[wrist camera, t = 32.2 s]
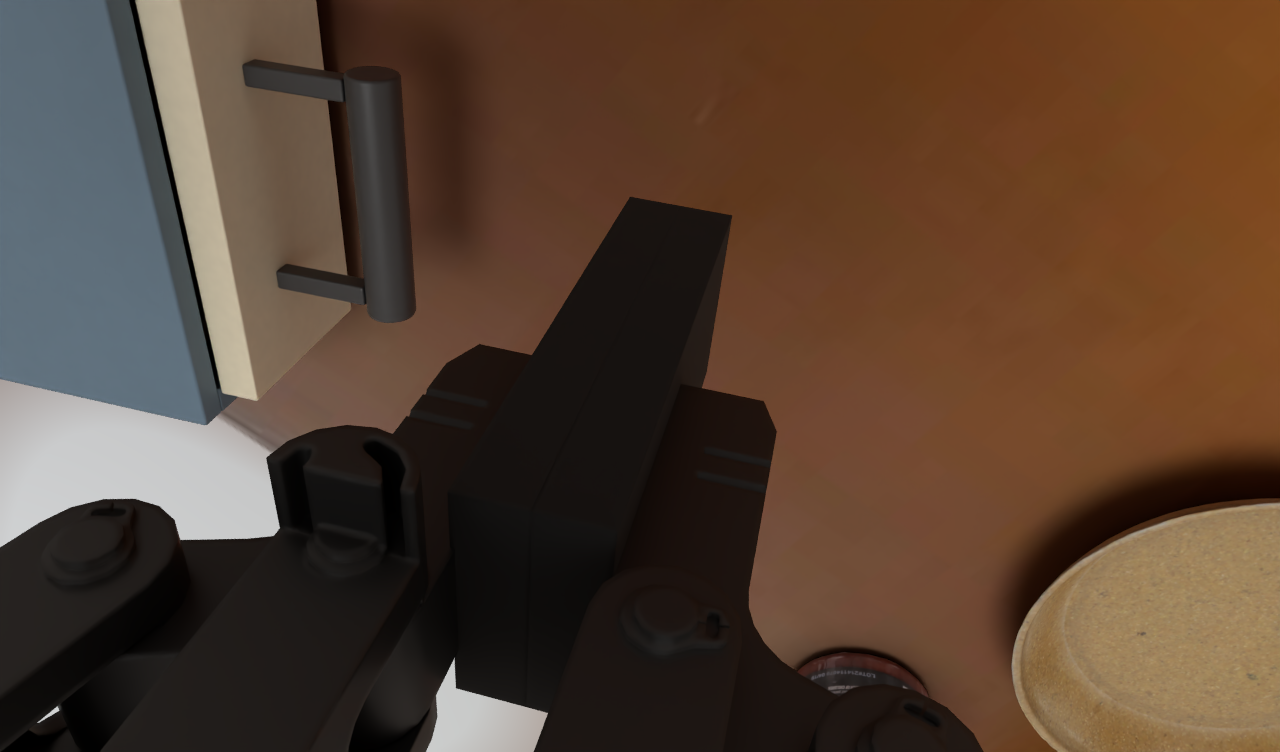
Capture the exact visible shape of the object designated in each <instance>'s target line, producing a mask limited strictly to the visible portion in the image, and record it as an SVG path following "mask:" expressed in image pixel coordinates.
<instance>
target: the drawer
mask: <svg viewBox="0 0 1280 752" xmlns="http://www.w3.org/2000/svg"><path fill="white" fill-rule="evenodd" d="M129 2H130V7H131V11H132V16H133V20H134V25H135V29H136V33H137V38H138V42H139V47H140V51H141V56H142V60H143V65H144V69H145V73H146V78H147V82H148V87H149V91H150V96H151V100H152V104H153V109H154V113H155V118H156V122H157V127H158V131H159V136H160V140H161V144H162V149H163V153H164V158H165V162H166V167H167V171H168V176H169V180H170V184H171V189H172V193H173V198H174V202H175V207H176V211H177V215H178V220H179V224H180V229H181V233H182V238H183V242H184V247H185V251H186V255H187V260H188V264H189V269H190V273H191V278H192V282H193V287H194V291H195V295H196V300H197V304H198V309H199V313H200V318H201V322H202V326H203V331H204V335H205V340H206V342H207V341H208V340H209V339H210V340H211V345H212V349H213V354H214V358H215V363H216V367H217V372H218V377H219V381H220V386H221V390H222V393H224V394H228V395H233V396H237V397H242V398H246V399H251V400H255V401H257V400H259V399H260V398H261V397H262V396H263V395H264V394H265V393H266V392H267V391H268V390H269V389H270V388H271V387H272V386H273V385H274V384H275V383H276V382H277V381H278V380H279V379H280V378H281V377H282V376H283V375H284V374H286V373H287V372H288V371H289V370H290V369H291V368H292V367H293V366H294V365H295V364H296V363H297V362H298V361H299V360H300V359H301V358H302V357H303V356H304V355H305V354H306V353H307V352H308V351H309V350H310V349H311V348H312V347H313V346H314V345H315V344H316V343H317V342H318V341H319V340H320V339H322V338H323V337H324V336H325V335H326V334H327V333H328V332H329V331H330V330H331V329H332V328H333V327H334V326H335V325H336V324H337V323H338V322H339V321H340V320H341V319H342V318H343V317H344V316H345V315H346V314H347V313H348V312H349V311H350V310H351V303H355V304H360V305H365V304H367V312H368V314H369V316H370V317H371V318H372V319H374V320H376V321H379V322H384V323H396V322H401V321H404V320H407V319H409V318H411V317H412V316H413V315H414V313H415V311H416V299H415V284H414V269H413V254H412V239H411V224H410V208H409V193H408V178H407V163H406V148H405V133H404V118H403V103H402V88H401V76H400V74H399V73H398V72H397V71H395V70H393V69H390V68H386V67H379V66H362V67H356V68H352V69H349V70H347V71H346V72H345V73H338V72H332V71H326V70H324V65H323V56H322V48H321V39H320V30H319V21H318V12H317V4H316V0H129ZM328 100H331V101H337V102H345V101H346V108H347V118H348V127H349V137H350V147H351V157H352V167H353V176H354V186H355V196H356V206H357V216H358V225H359V235H360V245H361V255H362V265H363V274H364V279H363V278H358V277H353V276H348V275H347V267H346V259H345V250H344V241H343V232H342V223H341V215H340V206H339V197H338V188H337V179H336V171H335V162H334V153H333V144H332V135H331V127H330V118H329V109H328Z"/></svg>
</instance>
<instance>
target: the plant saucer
mask: <svg viewBox="0 0 1280 752" xmlns="http://www.w3.org/2000/svg"><path fill="white" fill-rule="evenodd" d="M1011 666H1012V678H1013V684H1014V689H1015V693H1016V696H1017V699H1018V701H1019V704H1020V706H1021V708H1022V710H1023V712H1024V714H1025V716H1026V717H1027V719H1028V721H1029V722H1030V723H1031V724H1032V726H1033V727H1034V729H1035V730H1036V731H1037V732H1038V733H1039V735H1040V736H1041V737H1042V738H1043V739H1044V740H1046V741H1047V743H1048V744H1049V745H1050V746H1051V747H1052V748H1054V749H1055V750H1057V751H1058V752H1280V498H1265V499H1246V500H1236V501H1227V502H1219V503H1212V504H1206V505H1201V506H1197V507H1192V508H1187V509H1183V510H1179V511H1176V512H1172V513H1169V514H1166V515H1163V516H1159V517H1157V518H1154V519H1151V520H1148V521H1146V522H1143V523H1140V524H1138V525H1136V526H1133V527H1131V528H1129V529H1127V530H1125V531H1123V532H1121V533H1119V534H1117V535H1115V536H1113V537H1111V538H1110V539H1108V540H1106V541H1104V542H1103V543H1101V544H1100V545H1098V546H1097V547H1095V548H1093V549H1092V550H1090V551H1089V552H1087V553H1086V554H1085V555H1084V556H1082V557H1081V558H1080V559H1078V560H1077V561H1076V562H1074V563H1073V564H1072V565H1070V566H1069V567H1068V568H1067V569H1066V570H1065V571H1064V572H1063V573H1062V574H1060V575H1059V576H1058V577H1057V578H1056V579H1055V581H1054V582H1053V583H1052V584H1051V585H1050V586H1049V587H1048V588H1047V589H1046V590H1045V591H1044V592H1043V594H1042V595H1041V596H1040V597H1039V598H1038V600H1037V601H1036V602H1035V603H1034V605H1033V606H1032V608H1031V609H1030V611H1029V612H1028V614H1027V615H1026V617H1025V619H1024V621H1023V623H1022V625H1021V627H1020V629H1019V632H1018V634H1017V638H1016V641H1015V645H1014V649H1013V656H1012V664H1011Z"/></svg>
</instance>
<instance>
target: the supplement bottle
mask: <svg viewBox="0 0 1280 752" xmlns="http://www.w3.org/2000/svg"><path fill="white" fill-rule="evenodd" d="M797 672H798V673H799V674H801V675H802V676H804V677H806V678H808V679H810V680H811V681H813V682H815V683H817V684H818V685H820V686H822V687H824V688H825V689H827V690H829V691H831V692H832V693H834V694H836V695H838V696H840V695H842V694H843V693H845V692H847V691H848V690H850V689H852V688H853V687H860V686H868V685H876V684H888V685H892V686H897V687H901V688H906V689H911V690H915V691H917V692H919V693H921V694H923V695H925V696H926V697H928V694H927V691H926V689H925V688H924V687H923V685H922V684H921V683H920V682H919V681H918V679H917V678H915V677H914V676H913V675H912V674H911V673H910V672H908V671H907V670H906V669H904V668H903V667H901V666H899V665H898V664H896V663H893V662H892V661H889V660H888V659H884V658H880V657H876V656H873V655H869V654H860V653H847V652H841V653H836V654H832V655H827V656H821V657H820V658H817V659H814V660H812V661H811V662H809V663H807V664H805V665H804V666H803V667H802V668H800V669H799V670H798V671H797ZM928 698H929V697H928Z"/></svg>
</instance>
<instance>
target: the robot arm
mask: <svg viewBox="0 0 1280 752" xmlns="http://www.w3.org/2000/svg"><path fill="white" fill-rule="evenodd" d="M731 219H732V215H727V214H721V213H716V212H710V211H705V210H699V209H694V208H688V207H683V206H677V205H672V204H666V203H661V202H656V201H650V200H645V199H639V198H634V197H630V198H629V200H628V201H627V203H626V204H625V206H624V208H623V209H622V211H621V212H620V214H619V216H618V217H617V219H616V220H615V222H614V224H613V225H612V227H611V229H610V230H609V232H608V233H607V235H606V237H605V238H604V240H603V241H602V243H601V245H600V246H599V248H598V250H597V251H596V253H595V254H594V256H593V258H592V259H591V261H590V262H589V264H588V266H587V267H586V269H585V270H584V272H583V274H582V275H581V277H580V279H579V280H578V282H577V283H576V285H575V287H574V288H573V290H572V291H571V293H570V295H569V296H568V298H567V300H566V301H565V303H564V304H563V306H562V308H561V309H560V311H559V312H558V314H557V316H556V317H555V319H554V321H553V322H552V324H551V325H550V327H549V329H548V330H547V332H546V333H545V335H544V337H543V338H542V340H541V341H540V343H539V345H538V346H537V348H536V350H535V351H534V353H533V354H532V355H528V354H523V353H519V352H514V351H509V350H504V349H500V348H495V347H490V346H485V345H481V344H479V345H477V346H475V347H474V348H472V349H470V350H469V351H467V352H465V353H463V354H462V355H460V356H458V357H457V358H455V359H453V360H451V361H450V362H448V363H446V365H445V366H444V367H443V369H442V370H441V371H440V373H439V374H438V375H437V377H436V378H435V379H434V380H433V382H432V383H431V384H430V386H429V387H428V388H427V392H426V395H422V396H421V398H420V399H419V400H418V402H417V403H416V404H415V406H414V407H413V408H412V410H411V413H410V416H409V417H408V416H406V418H405V419H404V420H403V421H402V423H401V424H400V425H399V427H398V428H397V429H396V431H395V432H394V433H393V434H391V433H388V432H386V431H383V430H381V429H378V428H373V427H362V426H351V425H344V426H337V427H331V428H324V429H317V430H314V431H312V432H309V433H307V434H304V435H302V436H299V437H297V438H294V439H292V440H289V441H287V442H286V443H285V444H283V445H282V446H281V447H280V448H278V449H277V450H276V451H274V452H273V453H272V454H270V455H269V456H268V457H267V458H266V459H267V464H268V469H269V474H270V479H271V484H272V489H273V495H274V500H275V505H276V510H277V515H278V520H279V525H280V529H279V530H278V532H277V533H276V534H275V535H274V536H271V537H261V538H251V539H218V540H217V539H215V540H180V538H179V534H178V531H177V527H176V524H175V520H174V519H173V518H171V516H169V515H168V514H167V513H166V512H165V511H164V510H163V509H161V508H160V507H159V506H157V505H154V504H150V503H147V502H143V501H140V500H136V499H103V500H99V501H95V502H91V503H87V504H83V505H79V506H75V507H71V508H69V509H67V510H65V511H62V512H60V513H58V514H57V515H54V516H52V517H50V518H48V519H46V520H44V521H42V522H40V523H38V524H37V525H35V526H34V527H32V528H30V529H29V530H27V531H26V532H24V533H22V534H21V535H19V536H18V537H16V538H15V539H13V540H11V541H10V542H8V543H7V544H5V545H3V546H2V547H0V752H426V750H427V748H428V746H429V743H430V742H431V739H432V736H433V732H434V728H435V724H436V720H437V707H436V706H437V705H436V694H437V692H438V690H439V688H440V686H441V684H442V682H443V680H444V678H445V676H446V674H447V672H448V670H449V668H450V666H451V664H452V662H453V660H454V658H455V676H456V688H457V689H461V690H465V691H469V692H472V693H476V694H480V695H484V696H487V697H491V698H495V699H498V700H502V701H506V702H510V703H513V704H517V705H521V706H525V707H528V708H532V709H536V710H540V711H543V712H547V713H548V715H547V718H546V720H545V723H544V726H543V729H542V731H541V734H540V737H539V739H538V742H537V745H536V748H535V750H534V752H983V750H982V748H981V747H980V745H979V743H978V741H977V739H976V737H975V736H974V734H973V733H972V732H971V731H970V730H969V729H968V728H967V727H966V726H965V725H964V724H963V723H962V722H961V721H960V720H959V719H958V718H957V717H956V716H955V715H954V714H953V713H952V712H951V711H950V710H949V709H948V708H947V707H945V706H943V705H941V704H939V703H937V702H936V701H934V700H932V699H930V698H928V697H926V696H925V695H923V694H921V693H919V692H917V691H915V690H911V689H906V688H901V687H897V686H892V685H888V684H876V685H868V686H860V687H853V688H852V689H850V690H848V691H847V692H845V693H843V694H842V695H840V696H838V695H836V694H834V693H832V692H831V691H829V690H827V689H825V688H824V687H822V686H820V685H818V684H817V683H815V682H813V681H811V680H810V679H808V678H806V677H804V676H802V675H801V674H799V673H798V672H797V671H795V670H794V669H792V668H791V667H789V666H788V665H787V664H785V663H784V662H782V661H781V660H780V659H779V658H778V657H777V656H776V655H775V654H774V653H773V652H772V651H771V650H770V649H769V647H768V646H767V645H766V644H765V643H764V641H763V640H762V638H761V636H760V635H759V633H758V631H757V630H756V628H755V626H754V624H753V620H752V617H751V614H750V610H749V586H750V580H751V574H752V569H753V563H754V557H755V552H756V546H757V540H758V534H759V529H760V523H761V517H762V512H763V506H764V500H765V495H766V489H767V483H768V478H769V472H770V466H771V461H772V455H773V449H774V444H775V438H776V432H777V431H776V429H775V426H774V424H773V422H772V419H771V417H770V415H769V412H768V410H767V408H766V405H765V403H764V401H760V400H755V399H750V398H746V397H741V396H736V395H731V394H727V393H722V392H717V391H712V390H708V389H703V388H702V385H703V382H704V378H705V375H706V372H707V366H708V360H709V354H710V348H711V341H712V335H713V329H714V323H715V317H716V311H717V305H718V299H719V293H720V286H721V280H722V274H723V268H724V262H725V256H726V250H727V244H728V238H729V231H730V225H731ZM57 706H58V708H59V711H58V712H57V713H55V714H53V715H52V716H50V717H48V718H46V719H45V720H43V721H41V722H40V723H37V722H38V721H40V720H41V719H42V718H43V717H45V716H46V715H47V714H48V713H50V712H51V711H52V710H53V709H54V708H56V707H57Z"/></svg>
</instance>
